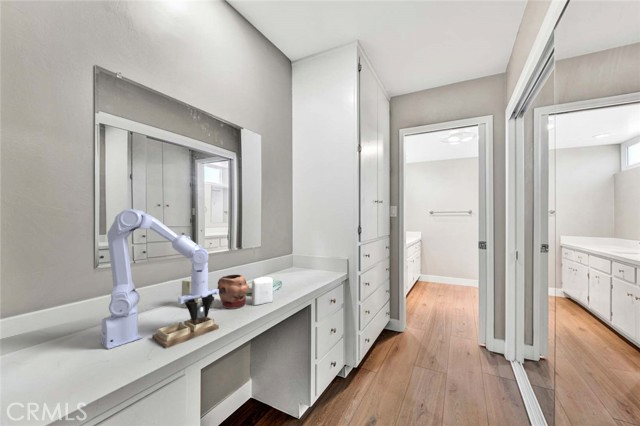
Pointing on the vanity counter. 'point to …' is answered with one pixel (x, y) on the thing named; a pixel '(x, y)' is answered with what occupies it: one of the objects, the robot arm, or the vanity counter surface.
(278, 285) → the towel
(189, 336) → the socket board
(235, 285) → the decorative planter
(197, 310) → the grey metal peg
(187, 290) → the skincare box
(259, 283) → the photo printer
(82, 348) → the vanity counter surface
